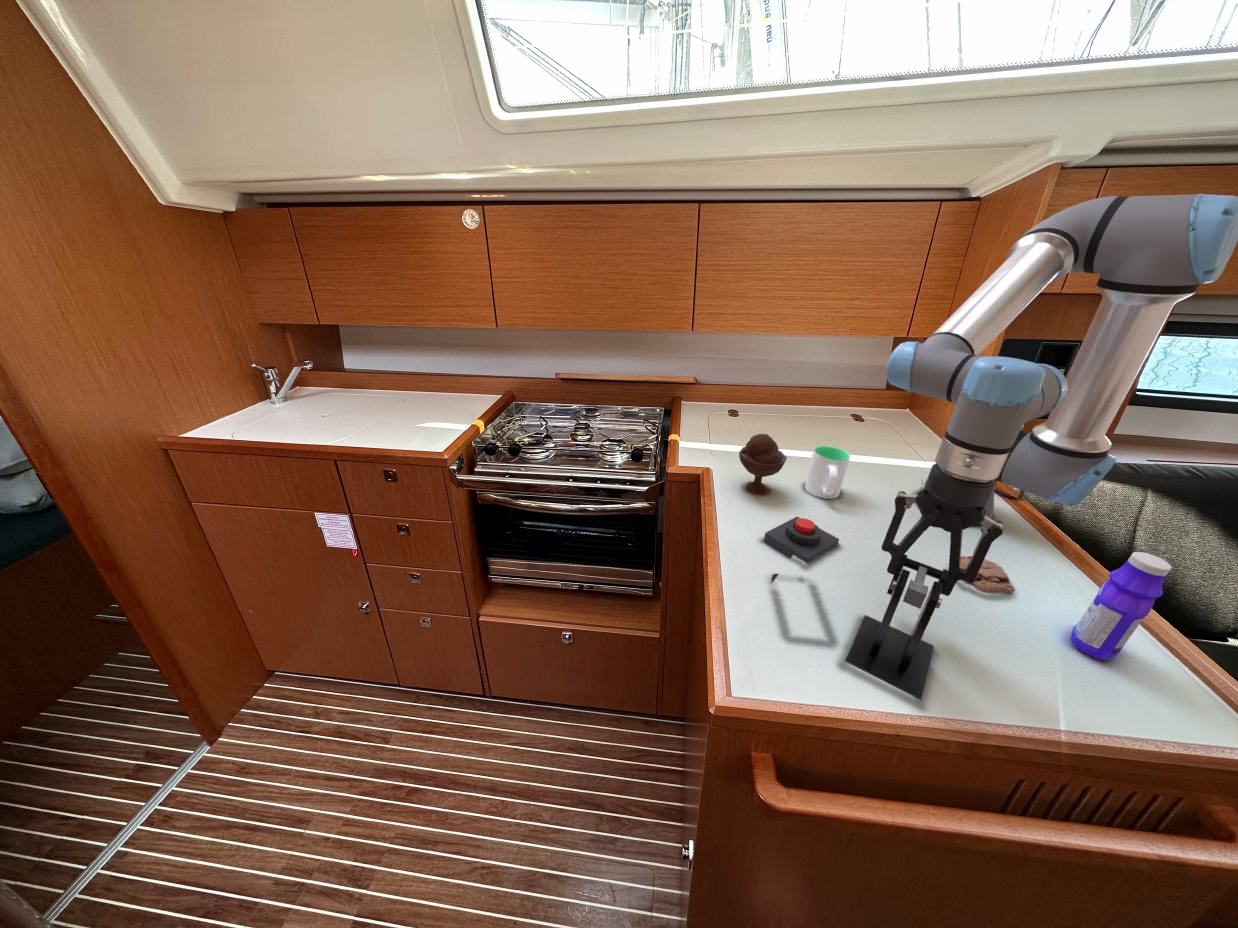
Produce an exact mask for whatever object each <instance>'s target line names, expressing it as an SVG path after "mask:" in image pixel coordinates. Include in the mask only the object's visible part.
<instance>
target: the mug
mask: <svg viewBox="0 0 1238 928" xmlns="http://www.w3.org/2000/svg"><path fill="white" fill-rule="evenodd" d="M850 458H851V455H850V453H849V452H847V451H846V450H844V449H842V448H839V447H836V446H832V445H819V446H816V447H814V449H813V452H812V456H811V460H810V465H809V468H808V472H807V476H806V481H805V485H804V489H805V491H806V492H807V493H809V494H810V495H812V496H813V497H817V498H820V499H826V500H828V499H829V500H831V499H836V498H839V496H840V493H841V489H842V486H843V483H844V478H845V476H846V472H847V468H848V465H849V463H850Z"/></svg>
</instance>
